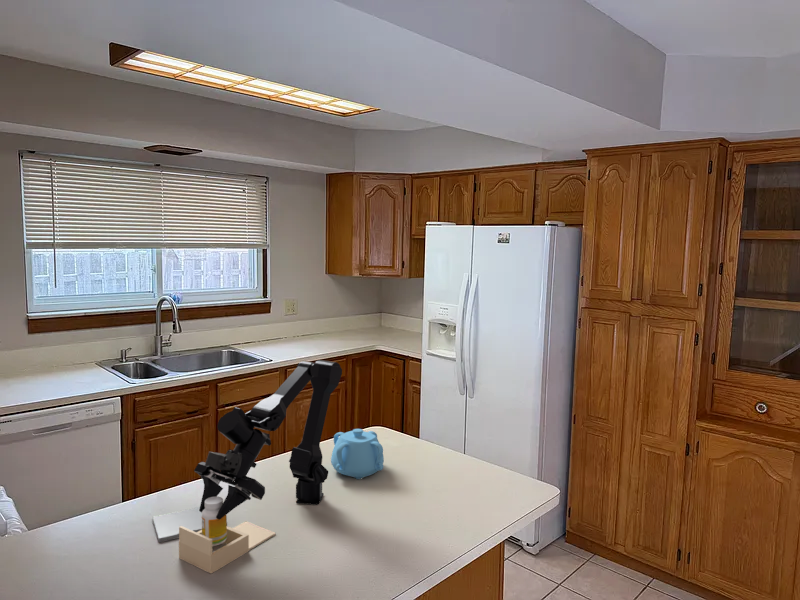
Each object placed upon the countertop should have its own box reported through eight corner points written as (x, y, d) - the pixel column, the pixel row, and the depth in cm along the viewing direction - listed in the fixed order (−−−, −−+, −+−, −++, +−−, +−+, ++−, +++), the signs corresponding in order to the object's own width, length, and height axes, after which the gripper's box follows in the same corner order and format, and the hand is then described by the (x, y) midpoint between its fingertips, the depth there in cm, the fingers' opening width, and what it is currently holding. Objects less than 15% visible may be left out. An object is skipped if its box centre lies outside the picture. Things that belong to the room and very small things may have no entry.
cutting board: (216, 506, 153) (216, 503, 153) (227, 526, 143) (227, 522, 143) (152, 520, 145) (152, 516, 145) (158, 542, 135) (158, 538, 135)
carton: (245, 522, 145) (245, 494, 144) (276, 534, 139) (276, 505, 139) (179, 558, 128) (178, 526, 128) (211, 573, 123) (210, 540, 122)
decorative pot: (329, 482, 170) (329, 439, 169) (332, 461, 186) (333, 421, 185) (383, 482, 171) (384, 439, 170) (382, 461, 187) (383, 421, 186)
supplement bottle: (231, 536, 131) (231, 496, 130) (217, 548, 126) (216, 507, 125) (212, 532, 133) (211, 493, 132) (197, 544, 128) (196, 503, 127)
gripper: (199, 429, 135) (160, 490, 127) (255, 445, 126) (216, 512, 118) (226, 450, 143) (190, 509, 135) (280, 467, 133) (245, 532, 125)
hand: (209, 515), depth 128 cm, fingers closed on supplement bottle, 5 cm apart
